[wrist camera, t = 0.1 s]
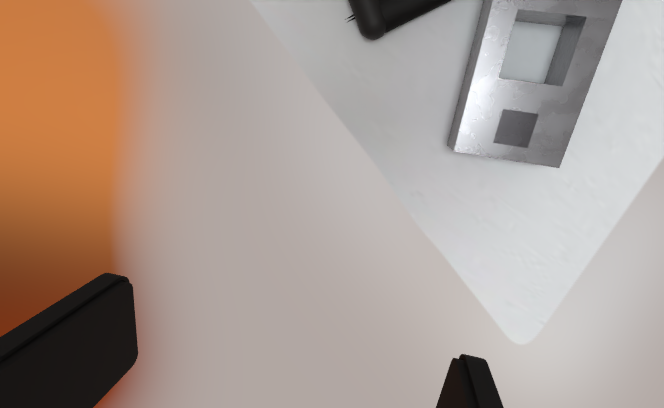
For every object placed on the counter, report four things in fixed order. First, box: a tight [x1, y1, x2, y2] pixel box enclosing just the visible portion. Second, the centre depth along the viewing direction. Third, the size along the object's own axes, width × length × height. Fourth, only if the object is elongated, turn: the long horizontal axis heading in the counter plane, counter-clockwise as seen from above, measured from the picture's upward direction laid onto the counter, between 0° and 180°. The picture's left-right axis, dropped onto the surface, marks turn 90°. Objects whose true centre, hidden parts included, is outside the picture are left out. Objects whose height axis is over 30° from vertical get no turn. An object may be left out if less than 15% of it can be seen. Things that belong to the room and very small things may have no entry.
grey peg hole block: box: [447, 0, 622, 168], centre depth 31 cm, size 20×10×4 cm, turn 172°
